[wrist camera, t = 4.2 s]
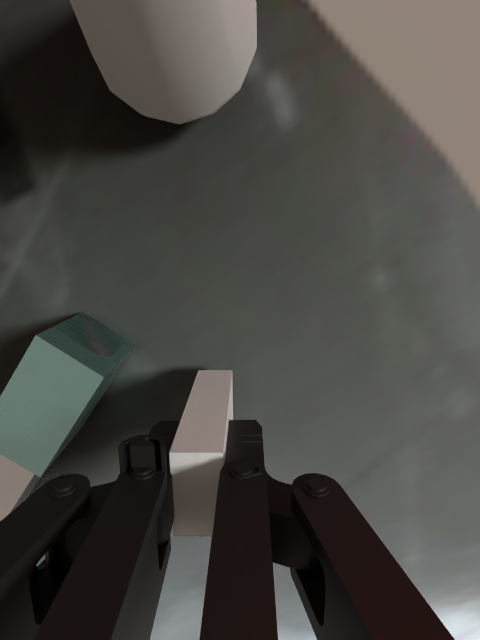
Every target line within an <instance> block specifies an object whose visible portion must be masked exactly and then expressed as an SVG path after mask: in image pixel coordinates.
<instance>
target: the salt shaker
mask: <svg viewBox="0 0 480 640" xmlns="http://www.w3.org/2000/svg"><path fill="white" fill-rule="evenodd" d="M69 1H70V3H71V5H72V8H73V10H74V13H75V15H76V18H77V20H78V22H79V25H80V27H81V30H82V32H83V34H84V37H85V39H86V42H87V44H88V47H89V49H90V51H91V54H92V56H93V58H94V60H95V62H96V64H97V66H98V68H99V70H100V72H101V74H102V76H103V78H104V80H105V82H106V84H107V86H108V88H109V90H110V91H111V92H112V93H114V94H115V95H116V96H118V97H119V98H120V99H121V100H123V101H124V102H125V103H127V104H128V105H129V106H131V107H132V108H133V109H135V110H136V111H137V112H138V113H140V114H141V115H143V116H146V117H150V118H154V119H159V120H163V121H167V122H171V123H175V124H183V123H187V122H190V121H193V120H197V119H200V118H204V117H207V116H210V115H213V114H215V113H216V112H217V111H218V110H219V109H220V108H221V107H222V106H223V105H224V104H225V103H226V102H228V101H229V100H230V99H231V98H232V97H233V96H234V95H235V94H236V93H237V92H238V91H240V88H241V86H242V84H243V81H244V79H245V76H246V74H247V71H248V69H249V66H250V64H251V61H252V59H253V56H254V54H255V51H256V48H257V19H256V0H69Z"/></svg>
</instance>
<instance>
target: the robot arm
mask: <svg viewBox="0 0 480 640" xmlns="http://www.w3.org/2000/svg"><path fill="white" fill-rule="evenodd" d="M118 451H119V463H120V474H119V476H118V478H117V480H116V481H114V482H111V483H107V484H103V485H98V486H93V487H90V481H89V480H88V478H87V477H86V476H83V475H80V474H67V475H62V476H59V477H57V478H54V479H52V480H50V481H48V482H47V483H45V484H44V485H43V486H41V487H40V488H39V489H38V490H37V491H35V492H34V493H33V494H32V495H31V496H30V497H28V498H27V499H26V500H25V501H24V502H22V503H21V504H20V505H19V506H18V507H17V508H15V509H14V510H13V511H12V512H11V513H9V514H8V515H7V516H6V517H5V518H4V519H2V520H1V521H0V640H150V636H151V631H152V627H153V623H154V619H155V615H156V610H157V606H158V602H159V598H160V593H161V589H162V585H163V581H164V577H165V572H166V568H167V564H168V560H169V556H170V551H171V540H170V533H171V529H172V525H173V527H174V536H212V541H211V549H210V558H209V566H208V574H207V583H206V591H205V599H204V607H203V616H202V624H201V632H200V640H278V634H277V620H276V605H275V591H274V577H273V563H272V562H274V563H277V564H280V565H284V566H287V567H290V571H291V576H292V579H293V581H294V583H295V586H296V588H297V591H298V593H299V596H300V598H301V601H302V603H303V606H304V608H305V611H306V613H307V615H308V618H309V620H310V623H311V625H312V628H313V630H314V633H315V635H316V638H317V640H454V638H453V637H452V636H451V634H450V633H449V631H448V630H447V629H446V627H445V626H444V625H443V623H442V622H441V621H440V619H439V618H438V617H437V615H436V614H435V613H434V611H433V610H432V609H431V607H430V606H429V604H428V603H427V602H426V600H425V599H424V598H423V596H422V595H421V594H420V592H419V591H418V590H417V588H416V587H415V586H414V584H413V583H412V582H411V580H410V579H409V578H408V576H407V575H406V573H405V572H404V571H403V569H402V568H401V567H400V565H399V564H398V563H397V561H396V560H395V559H394V557H393V556H392V555H391V553H390V552H389V551H388V549H387V548H386V547H385V545H384V544H383V542H382V541H381V540H380V538H379V537H378V536H377V534H376V533H375V532H374V530H373V529H372V528H371V526H370V525H369V524H368V522H367V521H366V520H365V518H364V517H363V515H362V514H361V513H360V511H359V510H358V509H357V507H356V506H355V505H354V503H353V502H352V501H351V499H350V498H349V497H348V495H347V494H346V493H345V491H344V490H343V489H342V487H341V486H340V485H339V484H338V483H337V482H336V481H335V480H334V479H332V478H330V477H328V476H326V475H322V474H317V473H311V474H304V475H301V476H299V477H297V478H296V479H295V480H294V481H293V484H292V485H290V484H286V483H283V482H279V481H277V480H275V479H273V478H272V477H271V476H269V475H268V473H267V472H266V470H265V467H264V452H263V438H262V427H261V426H260V424H259V423H258V422H257V421H256V420H233V389H232V370H198V373H197V376H196V378H195V381H194V384H193V387H192V390H191V393H190V395H189V398H188V401H187V404H186V407H185V410H184V412H183V415H182V418H181V421H160V422H159V423H157V424H156V425H155V426H154V427H152V429H151V431H150V433H149V435H148V434H146V435H138V436H134V437H131V438H128V439H127V440H125V441H123V442H122V443H121V444H120V445H119V446H118ZM44 555H45V560H44V561H43V562H42V563H41V564H40V565H39V566H37V567H36V564H37V563H38V561H39V560H40V559H41V558H42V557H43V556H44Z"/></svg>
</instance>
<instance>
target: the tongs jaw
mask: <svg viewBox="0 0 480 640" xmlns="http://www.w3.org/2000/svg"><path fill="white" fill-rule="evenodd" d="M134 346H135V345H133V344H132V343H130V342H129V341H127V340H126V339H124V338H122V337H121V336H119V335H118V334H116V333H114V332H113V331H111V330H110V329H108V328H107V327H105V326H103V325H102V324H100V323H99V322H97V321H96V320H94V319H92V318H91V317H89V316H88V315H86V314H85V313H83V312H81V313H79V314H77V315H75V316H73V317H71V318H69V319H67V320H65V321H63V322H61V323H59V324H57V325H55V326H53V327H51V328H49V329H47V330H45V331H43V332H41V333H39V334H37V335H36V336H35V337H34V339H33V341H32V342H31V344H30V346H29V348H28V349H27V351H26V353H25V355H24V356H23V358H22V360H21V361H20V363H19V365H18V367H17V368H16V370H15V372H14V374H13V375H12V377H11V379H10V381H9V382H8V384H7V386H6V387H5V389H4V391H3V393H2V394H1V396H0V521H1V520H2V519H4V518H5V517H6V516H7V515H8V514H9V513H11V512H12V511H13V510H14V509H15V508H17V507H18V506H19V505H20V504H21V503H22V502H24V501H25V500H26V499H27V498H28V496H29V495H30V493H31V492H32V490H33V488H34V487H35V485H36V484H37V482H38V481H39V479H40V478H41V476H42V475H43V474H44V472H45V471H46V470H47V469H48V468H49V467H50V465H51V464H52V463H53V462H54V461H55V459H56V458H57V457H58V456H59V455H60V453H61V452H62V451H63V450H64V449H65V447H66V446H67V445H68V444H69V443H70V441H71V440H72V439H73V438H74V437H75V435H76V434H77V433H78V432H79V431H80V429H81V428H82V427H83V426H84V424H85V423H86V421H87V419H88V418H89V416H90V415H91V413H92V412H93V410H94V409H95V407H96V405H97V404H98V402H99V401H100V399H101V398H102V396H103V395H104V393H105V391H106V390H107V388H108V387H109V385H110V384H111V382H112V381H113V379H114V378H115V376H116V374H117V373H118V371H119V370H120V368H121V367H122V365H123V364H124V362H125V360H126V359H127V357H128V356H129V354H130V353H131V351H132V350H133V348H134Z"/></svg>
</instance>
